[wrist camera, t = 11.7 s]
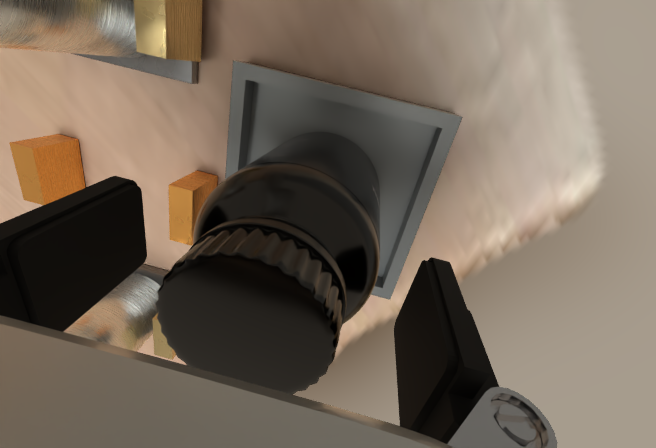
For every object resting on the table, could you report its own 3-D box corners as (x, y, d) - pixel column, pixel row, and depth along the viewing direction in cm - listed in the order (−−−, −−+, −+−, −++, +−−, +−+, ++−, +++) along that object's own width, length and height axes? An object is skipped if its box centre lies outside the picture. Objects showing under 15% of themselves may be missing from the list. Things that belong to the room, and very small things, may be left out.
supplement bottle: (403, 200, 18) (438, 380, 7) (314, 255, 21) (244, 448, 10) (332, 100, 16) (241, 146, 6) (244, 174, 19) (67, 302, 8)
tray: (247, 62, 17) (233, 60, 15) (454, 113, 16) (462, 117, 15) (231, 240, 22) (220, 253, 20) (389, 282, 21) (390, 299, 20)
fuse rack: (17, -93, 15) (-788, -469, 5) (229, -44, 15) (-139, -339, 4) (88, 303, 27) (-99, 449, 16) (208, 337, 26) (95, 510, 16)
